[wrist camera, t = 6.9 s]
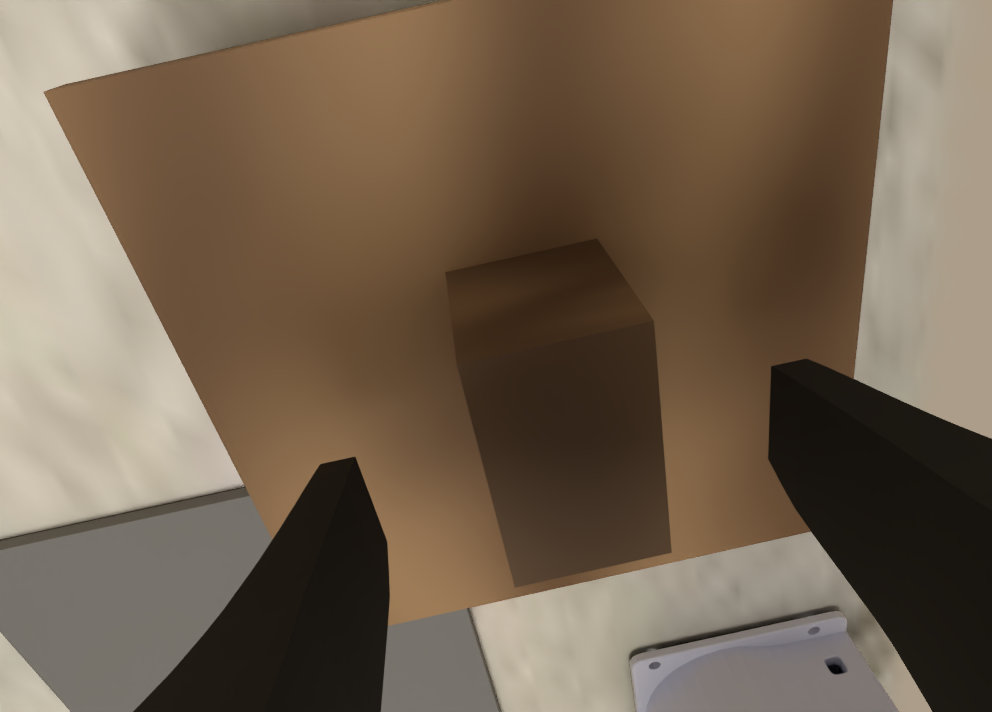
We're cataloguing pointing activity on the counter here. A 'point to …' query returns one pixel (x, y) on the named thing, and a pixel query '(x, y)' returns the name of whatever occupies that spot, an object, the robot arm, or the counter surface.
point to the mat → (186, 608)
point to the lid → (507, 265)
